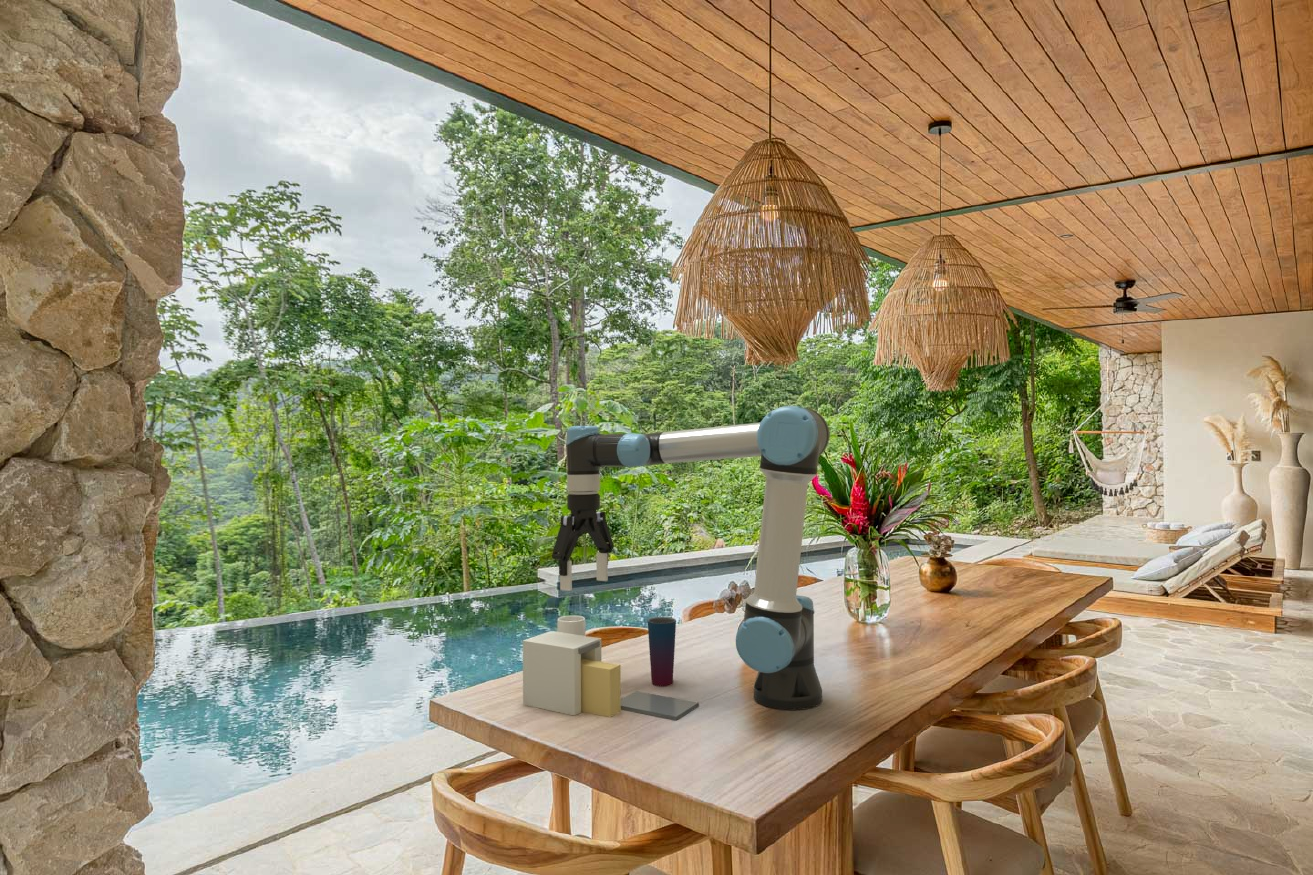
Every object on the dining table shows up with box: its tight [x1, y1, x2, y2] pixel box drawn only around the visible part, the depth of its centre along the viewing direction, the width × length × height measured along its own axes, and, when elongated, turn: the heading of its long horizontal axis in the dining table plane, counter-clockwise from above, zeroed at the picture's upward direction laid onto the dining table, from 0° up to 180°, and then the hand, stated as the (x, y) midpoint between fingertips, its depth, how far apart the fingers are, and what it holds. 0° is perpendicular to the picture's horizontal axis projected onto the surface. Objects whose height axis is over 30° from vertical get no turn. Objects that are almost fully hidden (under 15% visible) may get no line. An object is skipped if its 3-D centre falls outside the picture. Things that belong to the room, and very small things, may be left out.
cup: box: [647, 616, 677, 687], centre depth 185 cm, size 7×7×15 cm
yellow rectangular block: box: [581, 658, 622, 718], centre depth 168 cm, size 14×4×10 cm, turn 59°
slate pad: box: [621, 690, 700, 721], centre depth 169 cm, size 16×10×1 cm, turn 59°
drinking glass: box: [556, 615, 587, 636], centre depth 188 cm, size 7×7×15 cm
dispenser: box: [522, 630, 602, 717], centre depth 172 cm, size 15×10×14 cm
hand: (584, 585), depth 179 cm, fingers open, 13 cm apart
